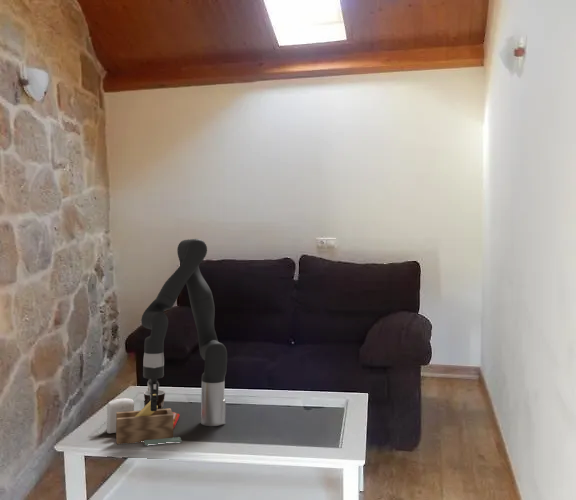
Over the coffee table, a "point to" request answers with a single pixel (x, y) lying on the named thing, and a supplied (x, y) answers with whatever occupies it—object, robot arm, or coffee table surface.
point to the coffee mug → (160, 398)
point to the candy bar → (175, 419)
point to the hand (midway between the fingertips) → (152, 407)
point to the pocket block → (143, 426)
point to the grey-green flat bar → (162, 440)
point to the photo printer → (117, 406)
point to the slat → (146, 410)
